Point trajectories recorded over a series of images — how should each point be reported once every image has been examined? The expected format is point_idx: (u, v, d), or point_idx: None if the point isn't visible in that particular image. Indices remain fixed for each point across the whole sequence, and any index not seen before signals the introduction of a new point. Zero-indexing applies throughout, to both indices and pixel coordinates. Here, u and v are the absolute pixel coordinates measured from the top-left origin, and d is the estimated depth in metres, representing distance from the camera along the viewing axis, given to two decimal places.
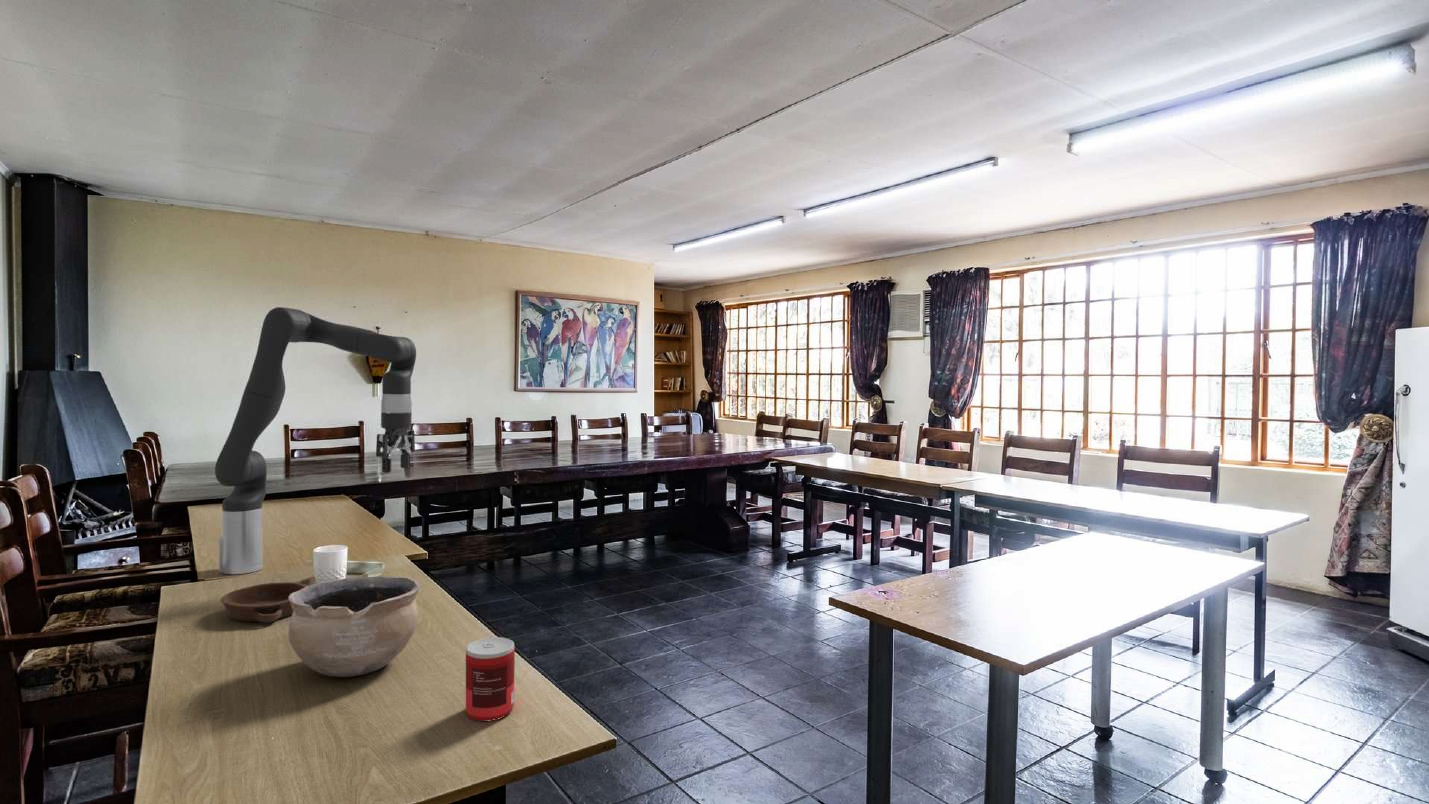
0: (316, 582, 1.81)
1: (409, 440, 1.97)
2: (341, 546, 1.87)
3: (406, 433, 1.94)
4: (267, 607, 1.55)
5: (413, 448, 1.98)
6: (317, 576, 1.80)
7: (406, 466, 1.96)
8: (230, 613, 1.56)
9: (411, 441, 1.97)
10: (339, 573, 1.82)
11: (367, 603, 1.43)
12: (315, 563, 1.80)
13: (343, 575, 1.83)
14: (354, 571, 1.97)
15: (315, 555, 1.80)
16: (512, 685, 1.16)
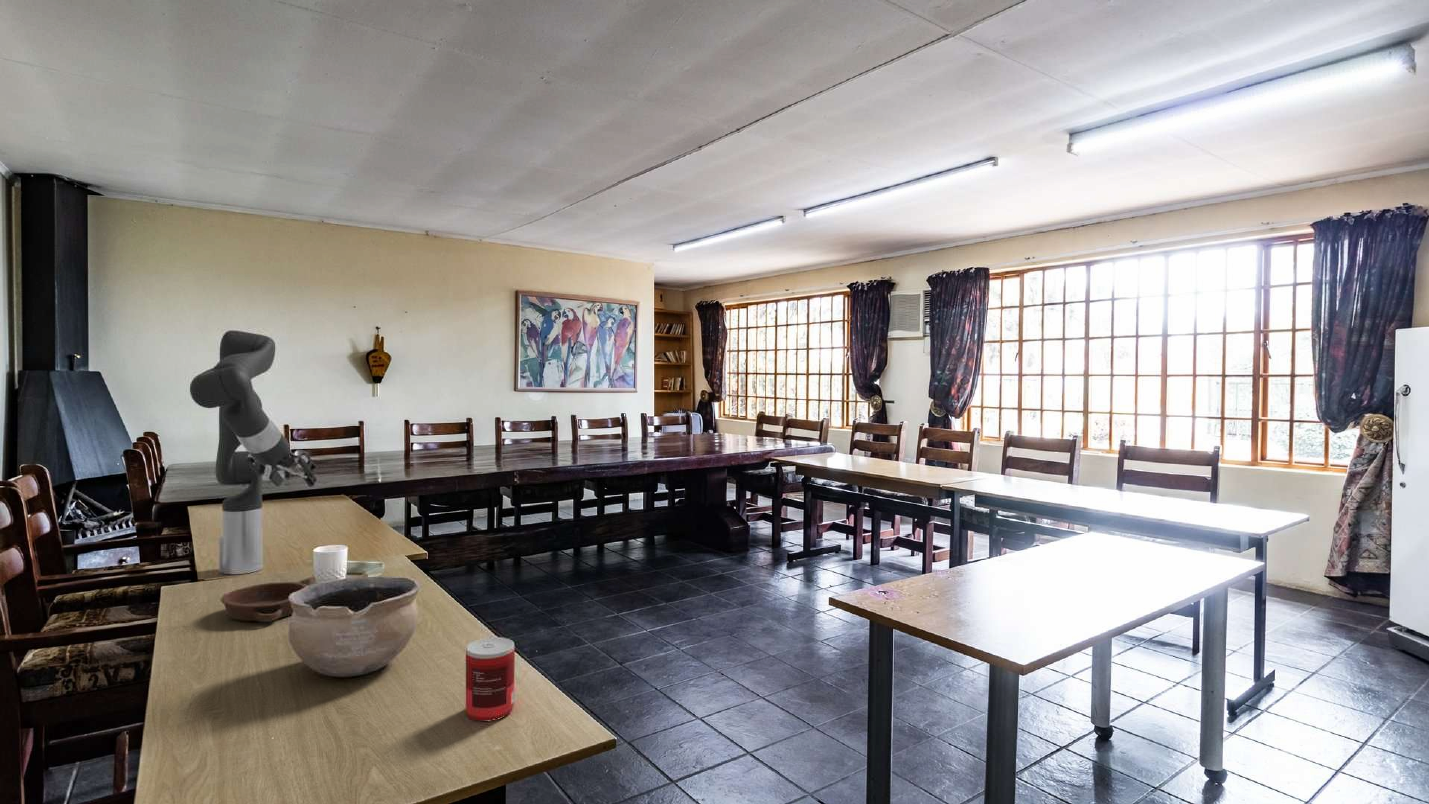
0: (316, 582, 1.81)
1: None
2: (341, 546, 1.87)
3: (287, 461, 1.61)
4: (267, 607, 1.55)
5: (309, 474, 1.64)
6: (317, 576, 1.80)
7: None
8: (230, 613, 1.56)
9: None
10: (339, 573, 1.82)
11: (367, 603, 1.43)
12: (315, 563, 1.80)
13: (343, 575, 1.83)
14: (354, 571, 1.97)
15: (315, 555, 1.80)
16: (512, 685, 1.16)
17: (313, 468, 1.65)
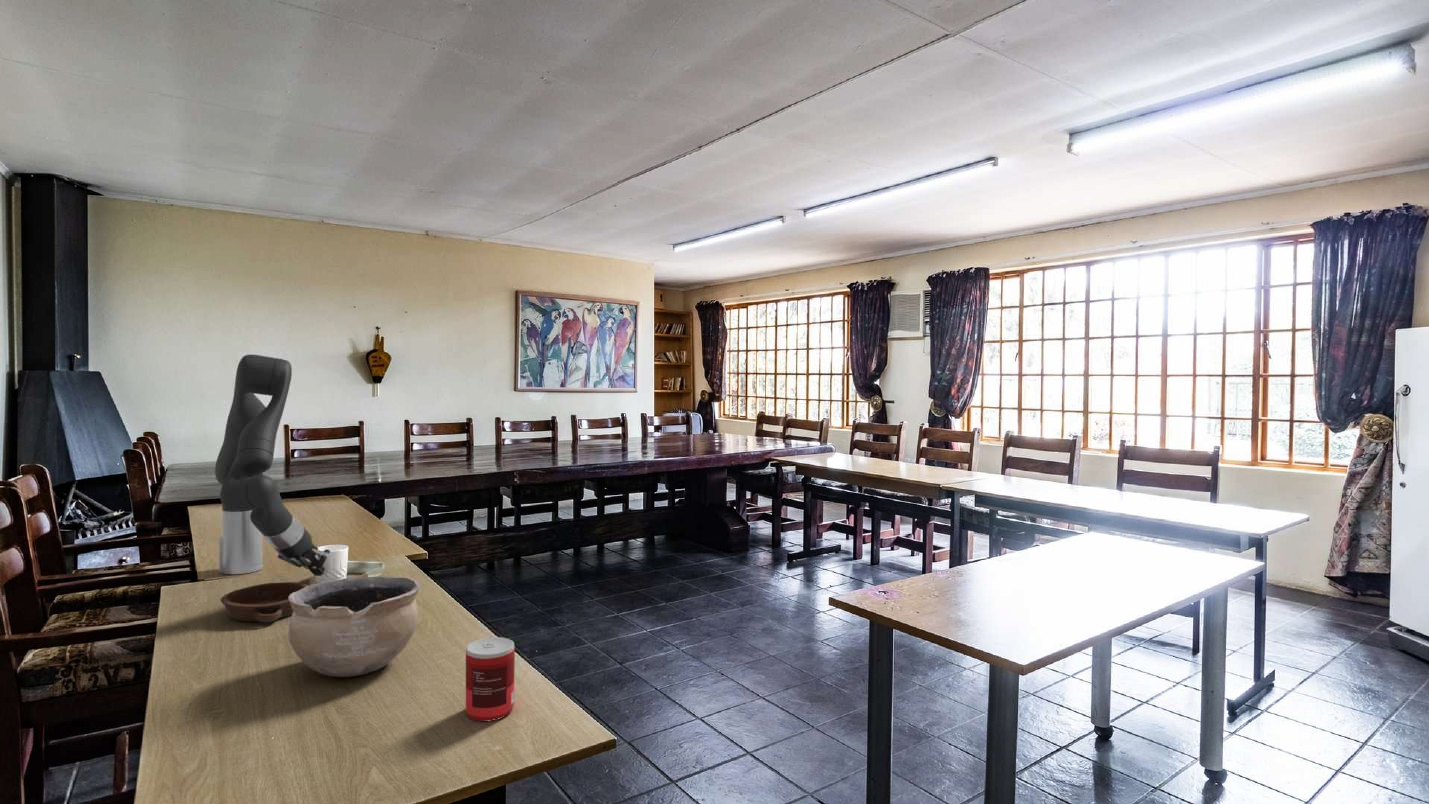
0: (317, 582, 1.81)
1: None
2: (342, 546, 1.87)
3: (310, 554, 1.70)
4: (267, 607, 1.55)
5: (318, 566, 1.74)
6: (318, 576, 1.80)
7: None
8: (230, 613, 1.56)
9: (318, 561, 1.73)
10: (340, 573, 1.82)
11: (367, 603, 1.43)
12: None
13: (344, 575, 1.83)
14: (354, 571, 1.97)
15: None
16: (512, 685, 1.16)
17: None
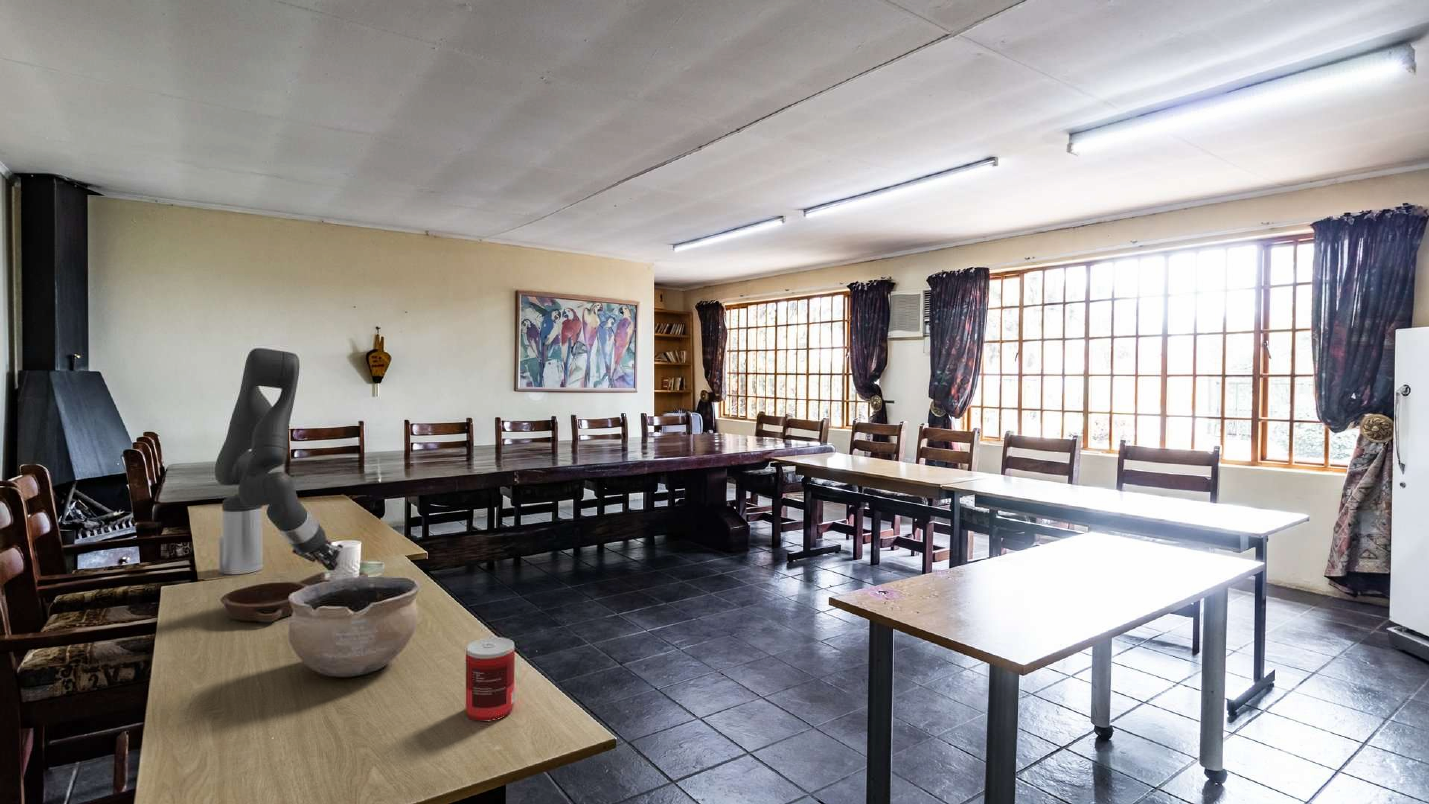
0: (330, 576, 1.86)
1: None
2: (356, 541, 1.92)
3: (323, 548, 1.76)
4: (267, 607, 1.55)
5: (331, 561, 1.80)
6: (331, 570, 1.86)
7: None
8: (230, 613, 1.56)
9: (332, 556, 1.78)
10: (351, 568, 1.87)
11: (367, 603, 1.43)
12: None
13: (356, 570, 1.88)
14: None
15: None
16: (512, 685, 1.16)
17: None
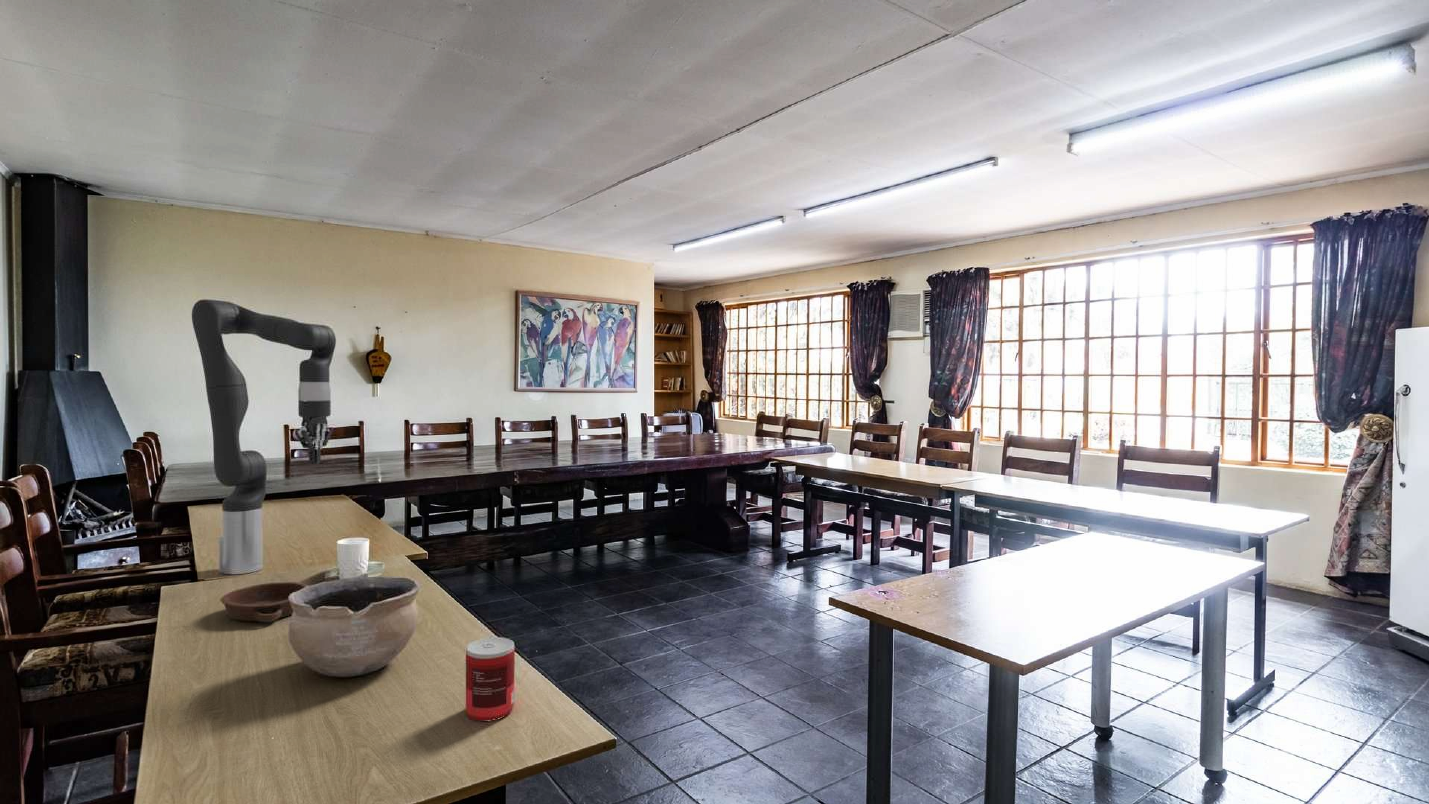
0: (339, 572, 1.90)
1: (324, 434, 1.94)
2: (364, 539, 1.95)
3: (326, 422, 1.93)
4: (267, 607, 1.55)
5: (325, 443, 1.93)
6: (340, 567, 1.89)
7: None
8: (230, 613, 1.56)
9: (326, 435, 1.93)
10: (360, 564, 1.90)
11: (367, 603, 1.43)
12: (338, 554, 1.89)
13: (364, 566, 1.91)
14: None
15: (338, 547, 1.89)
16: (512, 685, 1.16)
17: None
